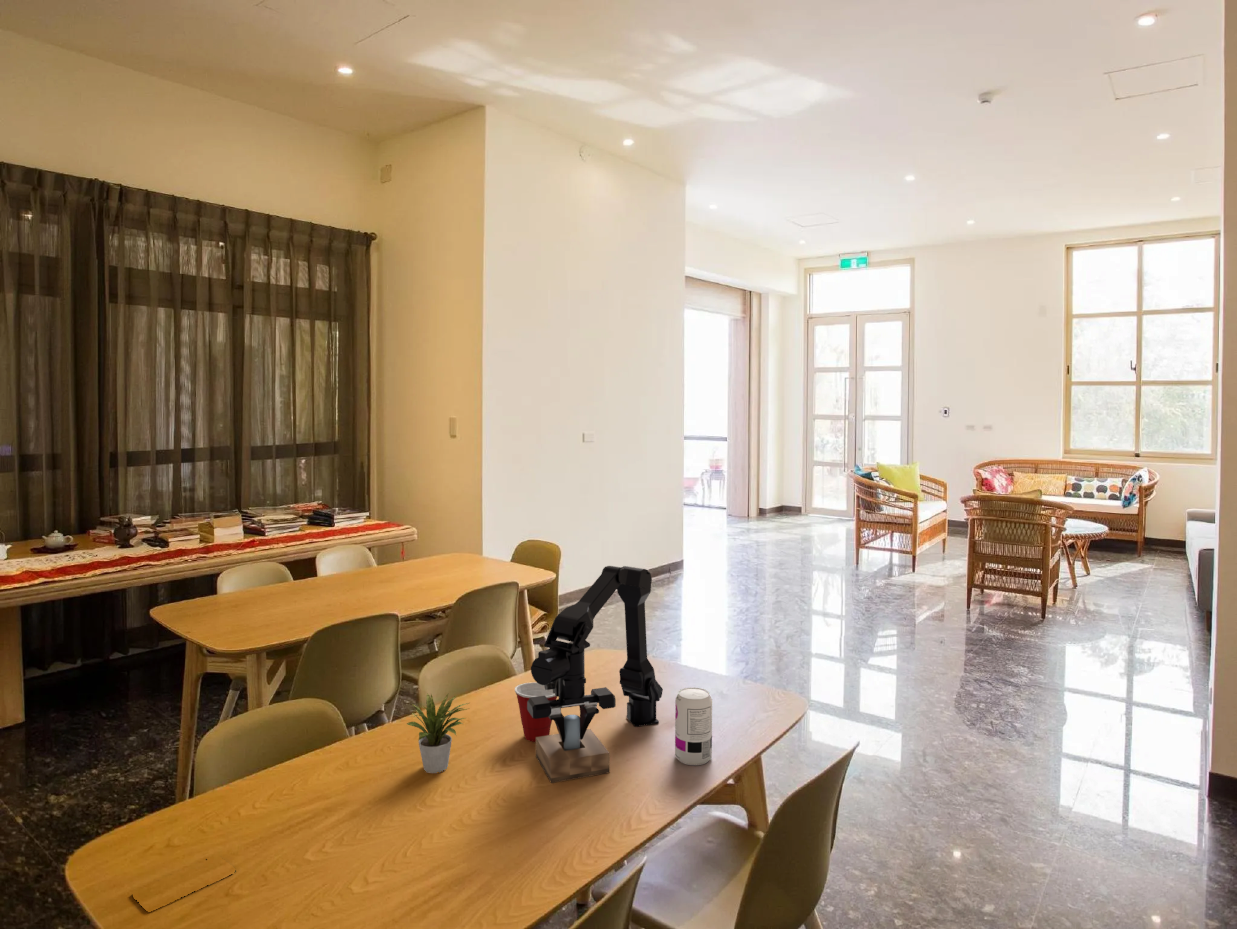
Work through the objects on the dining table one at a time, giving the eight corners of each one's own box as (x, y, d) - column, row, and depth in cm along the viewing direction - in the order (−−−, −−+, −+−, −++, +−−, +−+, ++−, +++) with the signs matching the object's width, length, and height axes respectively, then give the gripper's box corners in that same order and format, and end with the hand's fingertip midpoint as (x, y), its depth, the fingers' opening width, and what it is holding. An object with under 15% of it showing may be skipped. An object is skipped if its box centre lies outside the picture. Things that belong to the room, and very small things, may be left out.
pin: (582, 755, 170) (582, 719, 169) (566, 757, 169) (566, 722, 168) (577, 748, 173) (577, 713, 173) (561, 750, 172) (561, 715, 172)
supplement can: (669, 761, 173) (669, 696, 171) (683, 747, 180) (684, 684, 179) (703, 769, 169) (704, 702, 168) (716, 754, 176) (717, 690, 175)
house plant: (452, 789, 160) (450, 712, 159) (390, 782, 163) (388, 707, 162) (478, 758, 174) (477, 687, 173) (420, 752, 177) (419, 683, 175)
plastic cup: (569, 738, 185) (569, 689, 184) (530, 750, 178) (530, 699, 177) (544, 723, 193) (544, 676, 192) (506, 734, 186) (505, 686, 185)
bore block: (590, 747, 180) (590, 728, 179) (609, 772, 167) (609, 752, 167) (535, 756, 175) (535, 737, 175) (551, 782, 163) (551, 762, 163)
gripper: (599, 655, 180) (600, 720, 182) (521, 664, 174) (521, 731, 175) (616, 670, 170) (616, 739, 171) (533, 681, 164) (533, 752, 165)
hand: (571, 740), depth 171 cm, fingers open, 4 cm apart
